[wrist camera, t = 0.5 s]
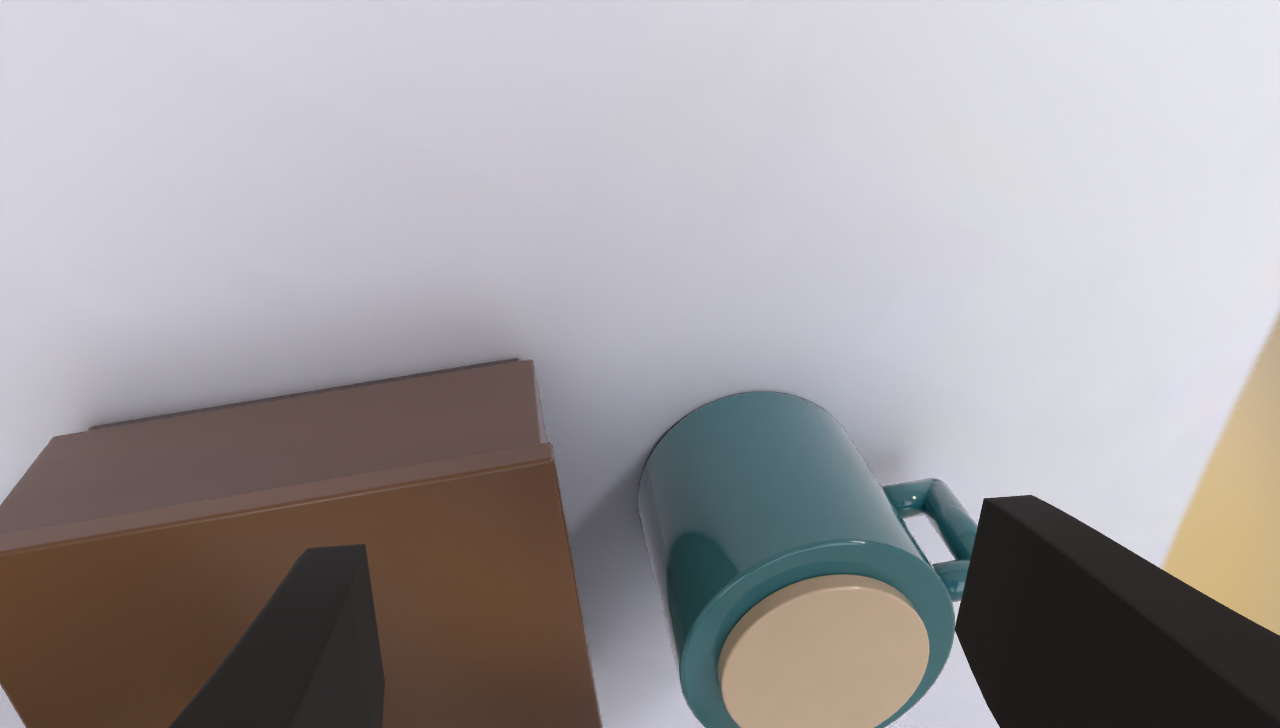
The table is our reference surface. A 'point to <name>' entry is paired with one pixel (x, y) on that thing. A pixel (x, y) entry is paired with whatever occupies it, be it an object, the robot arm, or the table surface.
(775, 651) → the cup
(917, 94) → the table surface
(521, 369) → the brown wooden box
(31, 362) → the table surface
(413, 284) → the table surface
